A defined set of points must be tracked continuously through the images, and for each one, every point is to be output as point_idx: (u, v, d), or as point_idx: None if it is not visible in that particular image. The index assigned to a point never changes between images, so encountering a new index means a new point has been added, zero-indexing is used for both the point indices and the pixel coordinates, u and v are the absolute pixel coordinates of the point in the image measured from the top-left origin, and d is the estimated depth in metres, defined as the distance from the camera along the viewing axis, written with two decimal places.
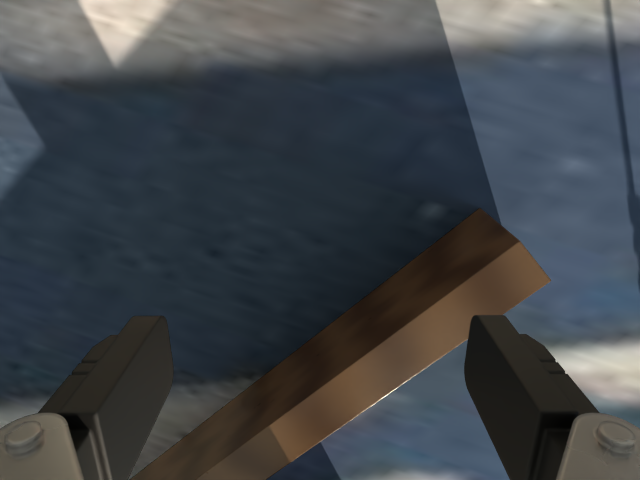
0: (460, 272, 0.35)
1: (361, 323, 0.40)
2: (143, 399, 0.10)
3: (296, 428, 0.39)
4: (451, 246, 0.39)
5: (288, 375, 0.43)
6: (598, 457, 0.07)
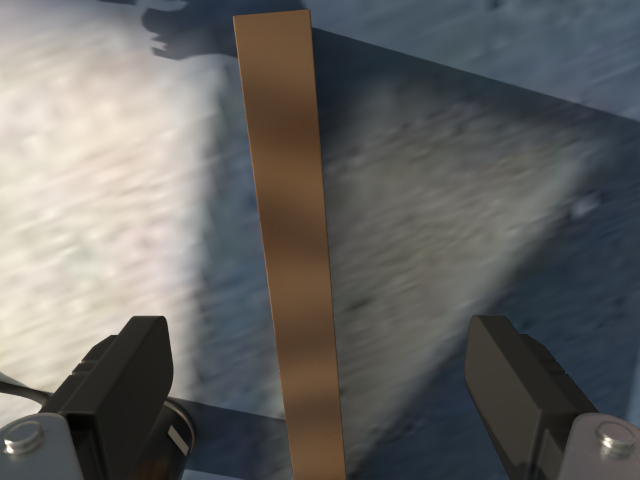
0: None
1: None
2: (143, 399, 0.10)
3: None
4: None
5: None
6: (598, 457, 0.07)
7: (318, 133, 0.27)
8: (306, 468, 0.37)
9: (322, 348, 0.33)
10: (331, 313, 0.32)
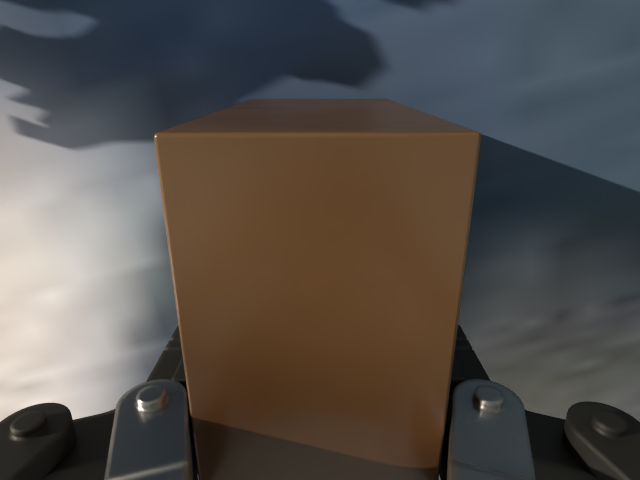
0: None
1: None
2: None
3: None
4: None
5: None
6: (479, 421, 0.07)
7: None
8: None
9: None
10: None
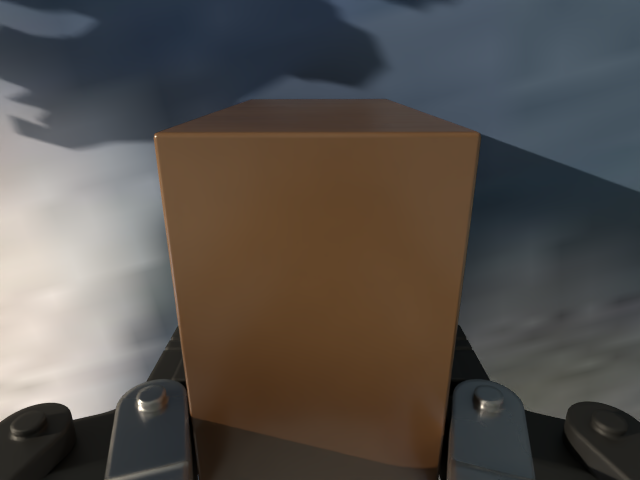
0: None
1: None
2: None
3: None
4: None
5: None
6: (478, 420, 0.07)
7: None
8: None
9: None
10: None
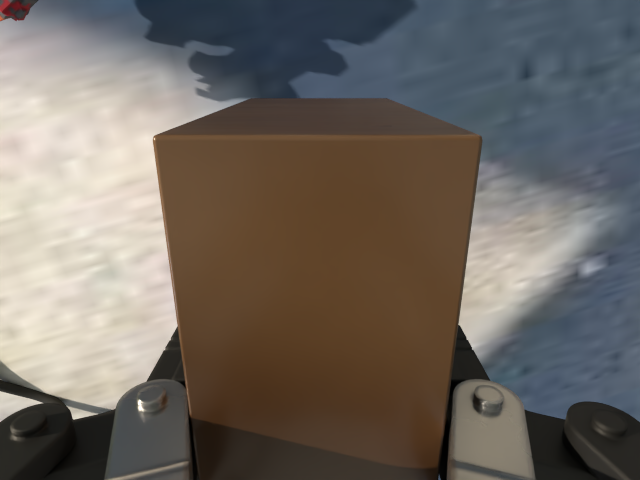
0: None
1: None
2: None
3: None
4: None
5: None
6: (478, 420, 0.07)
7: None
8: None
9: None
10: None
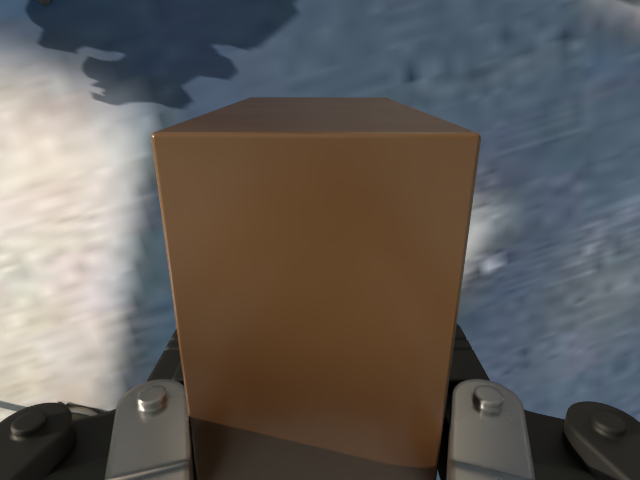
0: None
1: None
2: None
3: None
4: None
5: None
6: (478, 420, 0.07)
7: None
8: None
9: None
10: None
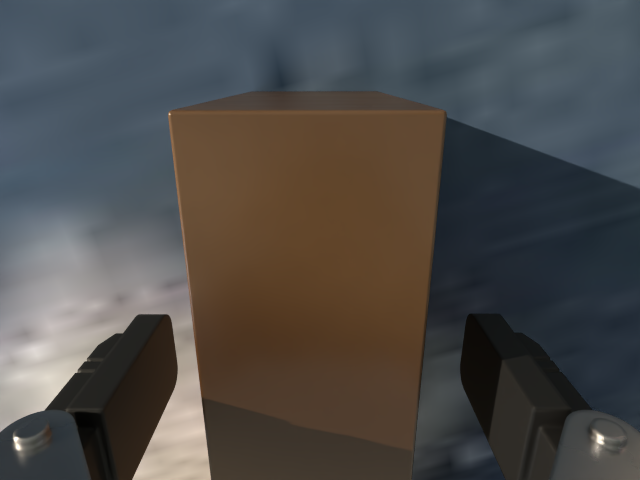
0: None
1: None
2: (148, 397, 0.10)
3: None
4: None
5: None
6: (591, 454, 0.07)
7: (411, 449, 0.09)
8: None
9: None
10: None
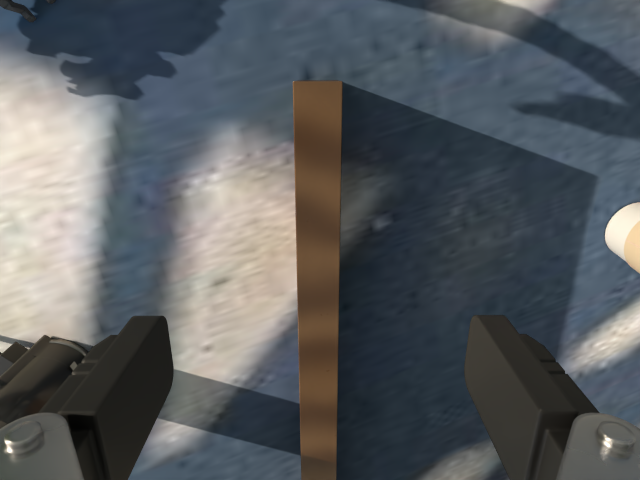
0: None
1: None
2: (143, 399, 0.10)
3: None
4: None
5: None
6: (598, 457, 0.07)
7: (340, 159, 0.42)
8: (309, 393, 0.51)
9: (329, 305, 0.47)
10: (338, 280, 0.46)
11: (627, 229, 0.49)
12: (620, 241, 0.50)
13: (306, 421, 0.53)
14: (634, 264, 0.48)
